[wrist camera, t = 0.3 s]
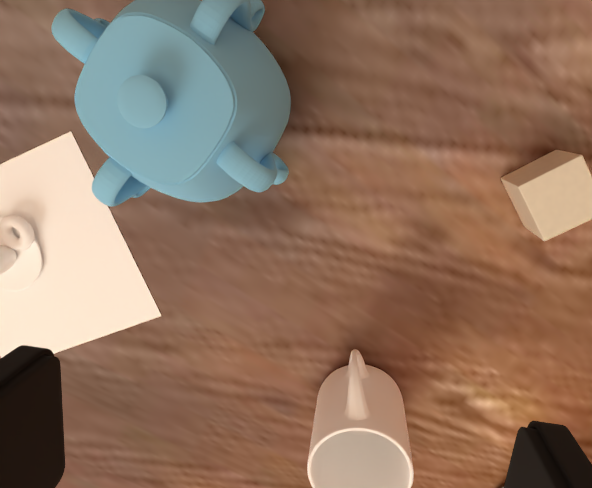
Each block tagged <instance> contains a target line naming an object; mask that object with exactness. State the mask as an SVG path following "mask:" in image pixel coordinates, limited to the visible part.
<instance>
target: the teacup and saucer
mask: <svg viewBox="0 0 592 488" xmlns="http://www.w3.org/2000/svg"><path fill="white" fill-rule="evenodd" d="M42 268H43V256H42V251H41V248H40V246H39V243H38V241H37V240H36V238H35V231H34V229H33V227H32V225H31V224H30V223H29V222H28V221H27V220H26V219H25V218H24V217H22V216H20V215H16V214H9V215H6V216H0V290H2V291H6V292H20V291H24V290H26V289H28V288H30V287H31V286H32V285H33V284H34V283H35V282H36V281H37V280H38V278H39V277H40V274H41V272H42Z"/></svg>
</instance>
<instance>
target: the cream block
mask: <svg viewBox="0 0 592 488" xmlns="http://www.w3.org/2000/svg"><path fill="white" fill-rule="evenodd" d="M501 180H502V182H503V185H504V187H505V189H506V191H507V193H508V195H509V197H510V199H511V201H512V203H513V205H514V207H515V209H516V211H517V213H518V215H519V217H520V219H521V221H522V223H523V226H524V227H525V228H527V229H528V230H530V231H531V232H532V233H534V234H535V235H536V236H538V237H539V238H541V239H542V240H543V241H546V240H548V239H550V238H553V237H555V236H557V235H559V234H561V233H563V232H566V231H568V230H570V229H572V228H574V227H576V226H578V225H581V224H583V223H585V222H587V221H589V220H591V219H592V175H591V173H590V171H589V169H588V166H587V164H586V162H585V160H584V158H583V155H580V154H575V153H571V152H566V151H561V150H555V151H553V152H551V153H549V154H547V155H545V156H543V157H541V158H539V159H537V160H535V161H533V162H531V163H529V164H527V165H525V166H523V167H521V168H519V169H517V170H515V171H513V172H511V173H509V174H507V175H505V176H503V177H501Z"/></svg>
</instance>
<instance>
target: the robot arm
mask: <svg viewBox="0 0 592 488" xmlns="http://www.w3.org/2000/svg"><path fill="white" fill-rule="evenodd" d="M64 468H65V452H64V432H63V411H62V391H61V370H60V361H59V359H58V358H57V357H54V354H53V352H52V351H51V350H50V349H47V348H40V347H33V346H26V345H21V346H19V347H17V348H15V349H14V350H13V351H11V352H10V353H8V354H7V355H5V356H4V357H2V358H1V359H0V488H55V487H56V486H57V484H58V483H59V481H60V479H61V477H62V475H63V472H64ZM504 488H592V464H591V463H590V461H589V460H588V458H587V457H586V455H585V454H584V452H583V451H582V449H581V448H580V446H579V445H578V443H577V442H576V440H575V438H574V437H573V435H572V434H571V432H570V431H569V429H568V428H567V427H566V426H563V425H558V424H551V423H545V422H538V421H532V422H530V424H529V425H528V427H527V428H525V427H521V428H520V429H519V430H518V433H517V437H516V441H515V445H514V449H513V453H512V457H511V461H510V465H509V469H508V473H507V477H506V481H505V485H504Z"/></svg>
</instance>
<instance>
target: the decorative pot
mask: <svg viewBox="0 0 592 488" xmlns="http://www.w3.org/2000/svg"><path fill="white" fill-rule="evenodd" d="M264 12H265V7H264V4H263V2H262V1H261V0H202V1H200V0H135V1H133V2H132V3H130V4H129V5H127V6H126V7H125V8H123V9H122V10H121V11H120V12H119V13H118V15H117V16H116V17H115V18H114V19H113V20H112V22H111V23H109V22H108V21H106V20H104V19H101V18H97V19H94V20H93V19H92V18H90V17H88V16H86V15H84V14H82V13H79V12H77V11H75V10H72V9H63V10H61V11H60V12H59V13H58V14H57V15H56V17H55V19H54V21H53V24H52V34H53V36H54V37H55V39H56V40H57V41H58V42H59V43H60V44H61V45H62V46H63V47H64V48H65V49H66V50H67V51H68V52H69V53H71V54H72V55H73V56H74V57H76V58H77V59H78V60H80V61H81V62H83V63H84V67H83V69H82V72H81V74H80V77H79V79H78V82H77V86H76V89H75V106H76V110H77V113H78V115H79V118H80V120H81V122H82V124H83V125H84V127H85V128H86V130H87V132H88V133H89V134H90V136H91V137H92V138H93V139H94V141H95V142H96V143H97V144H98V145H99V146H100V147H101V148H102V150H103V151H104V152H105V153H106V154H107V155H108V156H109V158H108V159H107V161H106V162H105V163H104V164H103V165H102V167H101V168H100V169H99V171H98V173H97V174H96V176H95V178H94V180H93V183H92V192H93V194H94V195H95V197H96V198H97V199H98V200H99V201H100V202H102V203H103V204H105V205H108V206H117V205H119V204H121V203H123V202H124V201H126V200H128V199H129V198H131V197H133V198H137V197H140V196H142V195H143V194H144V193H145V192H147V191H148V190H149V189H150V188H153V189H155V190H157V191H159V192H162V193H164V194H167V195H170V196H172V197H175V198H178V199H182V200H186V201H192V202H211V201H218V200H221V199H224V198H227V197H229V196H230V195H232V194H234V193H236V192H237V191H239V190H240V189H241V188H242V187H243V186H245V187H246V188H248V189H250V190H252V191H254V192H263V191H265V190H267V189H268V188H269V187H270V186H271V185H272V184H275V185H278V184H281V183H283V182H284V181H285V180H286V179H287V176H288V174H289V170H288V167H287V166H286V165H285V163H284V162H283V161H282V160H281V159H280V158H279V157H278V156H277V155H276V154H274V153H272V152H273V151H274V149H275V148H276V146H277V144H278V142H279V140H280V138H281V137H282V134H283V132H284V130H285V128H286V125H287V123H288V120H289V115H290V111H291V97H290V90H289V87H288V84H287V81H286V78H285V76H284V74H283V72H282V70H281V68H280V66H279V65H278V63H277V61H276V60H275V58H274V57H273V55H272V54H271V52H270V51H269V50H268V48H267V47H266V46H265V44H264V43H263V42H262V41H261V40H260V39H259V38H258V37H257V36H256V35H255V34H254V33H253V31H255V30H256V29H257V27H258V26H259V24H260V22H261V20H262V18H263V15H264Z"/></svg>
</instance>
